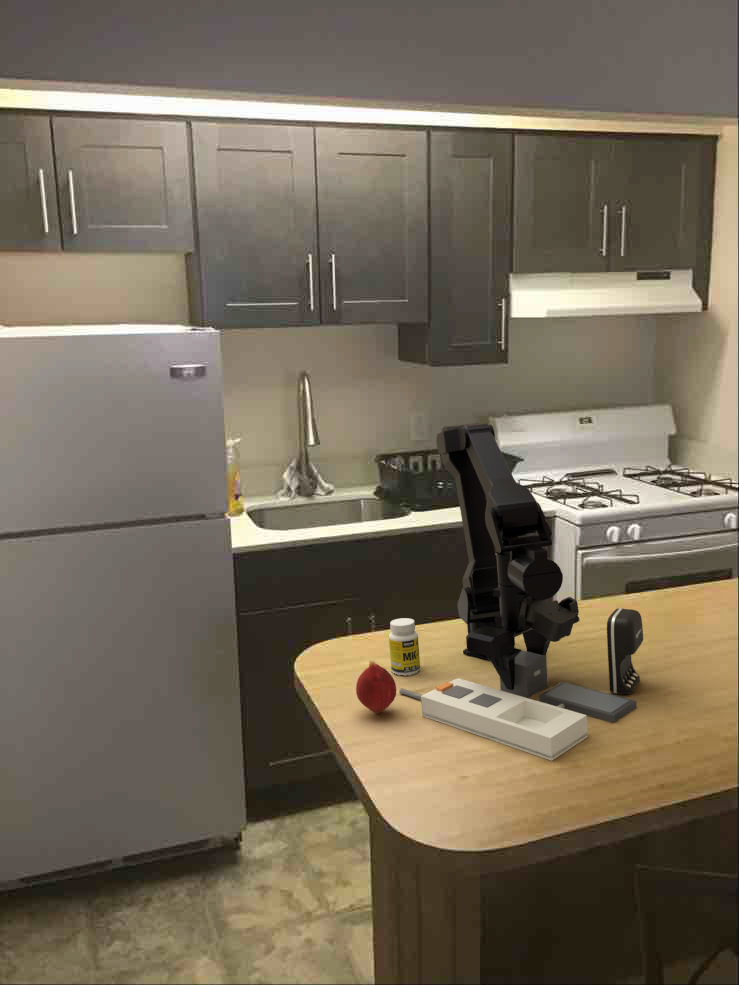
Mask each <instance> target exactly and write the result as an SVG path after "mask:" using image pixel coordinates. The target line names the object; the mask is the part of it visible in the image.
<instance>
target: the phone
mask: <svg viewBox="0 0 739 985" xmlns="http://www.w3.org/2000/svg"><path fill="white" fill-rule="evenodd" d="M538 700H539V702H542V703H546V704H549V705H553V706H556V707H560V708H563V709H567V710H570V711H573V712H577V713H580V714H584V715H587V716H588V717H591V718H596V719H599V720H603V721H606V722H609V723H613V724H614V723H616V722H617V721H619V720H620V719H621V718H623V717H625V716H626V715H628V714H629V713H631V712H632V711H634V710H635V709H637V700H636V699H631V698H628V697H624V696H620V695H617V694H614V693H613V694H612V693H609V692H604V691H601V690H598V689H593V688H590V687H585V686H582V685H578V684H574V683H570V682H567V681H561V682H559V683H558V684H556V685H554V686H552V687H550V688H548V689H547V690H545V691H543V692H542V693H541V692H540V694H539V695H538Z"/></svg>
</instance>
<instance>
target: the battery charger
mask: <svg viewBox="0 0 739 985" xmlns="http://www.w3.org/2000/svg"><path fill="white" fill-rule="evenodd" d="M606 639H607V640H606V641H607V642H606V644H607V646H606V647H607V662H608V663H607V664H608V677H609V678H608V679H609V680H608V681H609V682H608V683H609V684H608V685H609V692H610V693H613V694H615V695H617V694H621V695H622V694H623V695H629V694H632V693H633V692H634V691H635V689H636V688H637V686H638V684H639V682H640V680H641V677H640V675H639V674H638V673H637V671H636V669H635V667H634V665H633V663H632V662H633V661H632V655H634V654H636V652H637V651H638V649H639V648H640V646H641V645H642V644H643V641H644V629H643V618H642V616H641V613H640V611H638V610H636V609H629V608H623V607H618V608H616V609H615V610H614V611H613V612H611V614H610V615H609V617H608V618H607V623H606Z"/></svg>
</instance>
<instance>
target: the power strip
mask: <svg viewBox="0 0 739 985" xmlns="http://www.w3.org/2000/svg"><path fill="white" fill-rule="evenodd" d="M399 694H401V695H403V696H407V697H410V698H414V699H417V700H419V701H420V702H421V716H422V717H424V718H427V719H431V720H433V721H436V722H439V723H442V724H445V725H447V726H449V727H450V726H451V727H453V728H455V729H458V730H462V731H465V732H466V733H467V732H468V733H470V734H473V735H477V736H479V737H482V738H485V739H487V740H491V741H493V742H497V743H500V744H502V745H505V746H508V747H511V748H513V749H516V750H520V751H522V752H526V753H528V754H531V755H535V756H536V757H539V758H542V759H546V760H549V761H554V760H555V759H557V758H558V757H560V756H561V755H563V754H564V753H566V752H567V751H569V750H570V749H572V748H573V747H575V746H576V745H578V744H579V743H581V742H583V740H585V739H587V738H588V717H587V716H588V715H585V714H581V713H578V712H574V711H571V710H567V709H563V708H560V707H557V706H553V705H550V704H547V703H543V702H540V701H538V700H534V699H531V698H525V697H522V696H518V695H515V694H511V693H508V692H504V691H501V689H497V688H493V687H490V686H487V685H483V684H480V683H476V682H472V681H470V680H465V679H463V678H459V677H458V678H455V679H453V680H451V681H445V682H444V683H442V684H440V685H438V686H436V687H435V688H434V689H432V690H430V691H429V692H426V693H425V694H421V693H417V692H415V691H412V690H408V689H406V688H400V689H399Z"/></svg>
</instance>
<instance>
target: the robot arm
mask: <svg viewBox="0 0 739 985" xmlns="http://www.w3.org/2000/svg"><path fill="white" fill-rule="evenodd" d="M435 443H436V448H437V452H438V454H439V455H441V460H442V461H441V462H442V465H443V466H444V467H443V468H445V469H446V470H447V472H448V473H449V474H450V475H451V476H452V477H453V478H454V480H455V481H454V482H455V485H456V492H457V497H458V498H457V499H458V504H459V510H460V515H461V516H460V517H461V520H462V528H463V533H464V534H463V535H464V540H465V545H466V552H467V557H468V564H467V567H466V570H465V571H464V575H463V577H462V586H463V587H462V588H461V592H460V594H459V598H458V601H457V604H456V606H457V610H458V617H459V618H460V619H461V620H462V621H463V622H464V623H465V624H466V626H467V635H466V636H465V642H466V648H465V649H463V650H462V653H463V655H468V656H472V657H476V658H480V659H483V660H487V661H489V662H490V663H491V664H492V666H493V668H494V669H495V671H496V672H497V674H498V676H499V679H500V678H501V680H502V681H503V683H504V685H505V687H506V688H507V689H509V690H513V689H514V683H515V657H516V656H517V655H518V654H519V653H520V652H521V651H522V650H523V649H520V648H518V647H516V637H519V636H521V635H522V637H523V640H524V646H525V648H526V651H527V652H532V653H536V654H540V655H544V656H546V657H547V653H548V650H549V647H550V644H551V642H554V643H556V642H559V641H560V640H562V639H563V638H565V637H570V636H571V633H572V631H573V626H574V624H577V623H579V622H580V617H579V612H580V611H579V605H578V600H576V599H574V598H573V597H571V596H568V597H565V598H563V599H562V600H560V601H559V600H556V599H555V600H553V601H552V600H550V599H551V598H552V597H554V596H556V595H557V593H558V592H559V591H560V589H561V588H562V584H563V581H564V579H563V578H564V576H563V574H564V573H563V572H562V570H561V567H560V566H559V565H558V564H557V563H556V561H554V560H552V559H550V558H549V557H548V550H547V549H546V548H543V547H549V546H550V547H551V546H552V545H553V541H552V538H551V537H552V534H553V532H552V530H551V527H550V525H549V522H548V519H547V517H546V515H545V513H544V511H543V509H542V507H541V504H540V503H539V502H538V501H537V499H536V498H535V496H534V495H533V494H532V492H531V490H530V489H529V488H528V487H526V486H524V485H522V484H520V483H518V482H517V481H516V480H515V477H514V476H513V474H512V471H511V470H510V468H509V465H508V463H507V461H506V459H505V457H504V456H503V453H502V451H501V449H500V447H499V445H498V442H497V441H496V435H495V429H494V426H493V425H492V424H491V423H490V424H489V423H487V422H485V423H478V422H475V423H467V424H455V425H446V426H443V427H442V429H441V432H439V433H437V434H436V442H435ZM536 533H537V534H536ZM535 534H536V535H535Z"/></svg>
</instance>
